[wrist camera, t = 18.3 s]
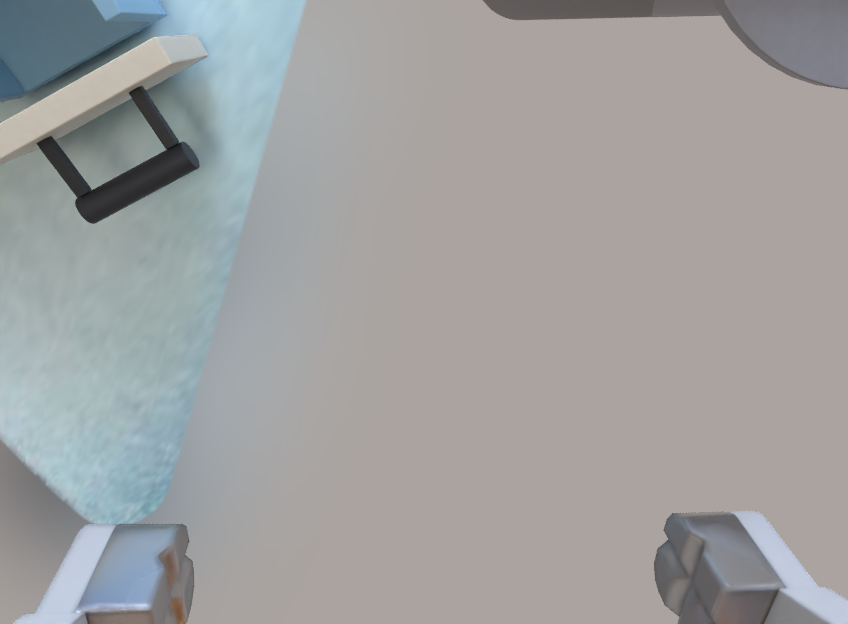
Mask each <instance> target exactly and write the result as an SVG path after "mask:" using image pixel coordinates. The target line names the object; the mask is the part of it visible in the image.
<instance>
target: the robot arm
mask: <svg viewBox="0 0 848 624" xmlns="http://www.w3.org/2000/svg"><path fill="white" fill-rule="evenodd" d="M664 532H665V534H666V535H667V537H668V540H667V541H666V542H665V543H664V544H663V545H662V546H660V547H659V548H658V550H657V554H656V558H655V561H654V570H655V581H656V584H657V588H658V591H659V594H660V596H661V598H662V600H663V602H664V604H665V606H666V607H668V608H669V609H670V610H671V611H673V612H674V613H675V614H677V615H678V616H679V620H678V624H848V600H847V599H845V598H844V597H842V596H840V595H839V594H837V593H836V592H834V591H833V590H831V589H829V588H828V587H818V586H817V584H816V583H815V582H814V580H813V579H812V578H811V577H810V575H809V574H808V573H807V571H806V570H805V569H804V567H803V566H802V565H801V563H800V562H799V561H798V560H797V558H796V557H795V556H794V554H793V553H792V552H791V550H790V549H789V548H788V547H787V545H786V544H785V543H784V541H783V540H782V539H781V537H780V536H779V535H778V534H777V532H776V531H775V529H774V528H773V527H772V526H771V524H770V523H769V522H768V520H767V519H766V518H765V517H764V516H763V515H762V514H761V513H759V512H757V511H733V512H700V513H672V514H671V515H670V517H669V518H668V519H667V521H666V524H665V527H664ZM188 543H189V538H188V532H187V527H186V526H185V525H183V524H119V525H118V524H87V525H85V526H84V527H83V528H82V529H81V530H80V531H79V532H78V533H77V535H76V537H75V539H74V541H73V543H72V545H71V546H70V548H69V550H68V552H67V554H66V556H65V558H64V560H63V561H62V563H61V565H60V567H59V569H58V571H57V573H56V574H55V576H54V578H53V580H52V582H51V584H50V586H49V587H48V589H47V591H46V593H45V595H44V597H43V599H42V601H41V602H40V604H39V606H38V608H37V610H36V612H35V614H24V615H22V616H21V617H20V618H18V619H17V620H16V621H14V622H13V623H12V624H186V623H187V620H188V617H189V613H190V609H191V605H192V598H193V591H194V569H193V562H192V560H191V559H189V558H188V557H187V556H186V555H185V553H186V550H187V547H188Z"/></svg>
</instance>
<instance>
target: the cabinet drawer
mask: <svg viewBox="0 0 848 624" xmlns="http://www.w3.org/2000/svg"><path fill="white" fill-rule="evenodd" d="M166 15H167V14H166V12H165V10H164V9H163V7H162V5H161V4H160V2H159V0H0V102H3V101H7V100H12V99H16V98H21V97H23V96H25V95H27V94H28V93H30V92H32V91H34V90H35V89H37V88H39V87H41V86H43V85H44V84H46V83H48V82H50V81H51V80H53V79H55V78H57V77H59V76H60V75H62V74H64V73H66V72H67V71H69V70H71V69H73V68H75V67H76V66H78V65H80V64H82V63H83V62H85V61H87V60H89V59H91V58H92V57H94V56H96V55H98V54H99V53H101V52H103V51H105V50H107V49H108V48H110V47H112V46H114V45H115V44H117V43H119V42H121V41H122V40H124V39H126V38H128V37H130V36H131V35H133V34H135V33H137V32H138V31H140V30H142V29H144V28H146V27H147V26H149V25H151V24H153V23H154V22H156V21H158V20H160V19H162V18H163V17H165V16H166ZM207 56H208V54H207V52H206V50H205V49H204V47H203V45H202V44H201V42H200V40H199V39H198V37H197V35H196V34H191V35H176V36H161V37H153V38H151V39H149V40H147V41H146V42H144V43H142V44H140V45H138V46H137V47H135V48H133V49H131V50H130V51H128V52H126V53H124V54H122V55H121V56H119V57H117V58H115V59H113V60H112V61H110V62H108V63H106V64H105V65H103V66H101V67H99V68H97V69H96V70H94V71H92V72H90V73H88V74H87V75H85V76H83V77H81V78H80V79H78V80H76V81H74V82H72V83H71V84H69V85H67V86H65V87H64V88H62V89H60V90H58V91H56V92H55V93H53V94H51V95H49V96H47V97H46V98H44V99H42V100H40V101H39V102H37V103H35V104H33V105H31V106H30V107H28V108H26V109H24V110H23V111H21V112H19V113H17V114H15V115H14V116H12V117H10V118H8V119H6V120H5V121H3V122H1V123H0V164H2V163H4V162H7V161H9V160H12V159H14V158H17V157H19V156H22V155H24V154H27V153H29V152H32V151H34V150H37V149H39V148H40V149H41V150H42V152H43V153H44V154H45V156H46V157H47V158H48V160H49V161H50V162H51V164H52V165H53V166H54V168H55V169H56V170H57V171H58V173H59V174H60V175H61V177H62V178H63V179H64V181H65V182H66V183H67V185H68V186H69V187H70V189H71V190H72V191H73V192H74V194H75V195H76V196H77V197H78V198H77V199H76V201H75V204H76V207H77V210H78V211H79V213H80V214H81V216H82V217H83V218H84V219H85V220H86V221H88V222H89V223H92V224H94V223H97V222H99V221H101V220H102V219H104V218H106V217H108V216H110V215H112V214H114V213H116V212H117V211H119V210H121V209H123V208H125V207H127V206H129V205H131V204H132V203H134V202H136V201H138V200H140V199H142V198H144V197H145V196H147V195H149V194H151V193H153V192H155V191H157V190H159V189H160V188H162V187H164V186H166V185H168V184H170V183H172V182H174V181H175V180H177V179H179V178H181V177H183V176H185V175H187V174H189V173H190V172H192V171H194V170H196V169H198V168H199V161H198V159H197V157H196V155H195V153H194V152H193V150H192V149H191V148H190V146H189V145H188V144H186V143H185V142H180V143H179V141H178V139H177V138H176V136H175V134H174V133H173V131H172V130H171V128H170V127H169V125H168V124H167V122H166V121H165V119H164V118H163V116H162V115H161V113H160V112H159V110H158V109H157V107H156V105H155V104H154V102H153V101H152V99H151V98H150V96H149V95H148V93H147V92H146V90H148V89H149V88H151V87H153V86H155V85H157V84H158V83H160V82H162V81H164V80H166V79H168V78H169V77H171V76H173V75H175V74H177V73H178V72H180V71H182V70H184V69H186V68H187V67H189V66H191V65H193V64H195V63H196V62H198V61H200V60H202V59H204V58H206V57H207ZM131 98H132V99H133V100H134V102H135V103H136V105H137V106H138V108H139V109H140V111H141V112H142V114H143V115H144V117H145V118H146V120H147V121H148V123H149V124H150V126H151V127H152V129H153V130H154V132H155V133H156V135H157V136H158V138H159V139H160V141H161V142H162V144H163V145H164V147H165V148H166V149H167V150H166V151H164V152H162V153H160V154H158V155H156V156H154V157H153V158H151V159H149V160H147V161H145V162H143V163H142V164H140V165H138V166H136V167H134V168H132V169H130V170H129V171H127V172H125V173H123V174H121V175H119V176H117V177H116V178H114V179H112V180H110V181H108V182H106V183H104V184H103V185H101V186H99V187H97V188H95V189H93V190H92V189H91V188H90V186H89V185H88V184H87V182H86V181H85V180H84V178H83V177H82V176H81V174H80V173H79V172H78V170H77V169H76V168H75V166H74V165H73V164H72V162H71V161H70V160H69V158H68V157H67V156H66V154H65V153H64V152H63V150H62V149H61V148H60V146H59V145H58V144H57V142H56V141H55V140H57V139H59V138H61V137H63V136H64V135H66V134H68V133H70V132H72V131H73V130H75V129H77V128H79V127H81V126H82V125H84V124H86V123H88V122H90V121H91V120H93V119H95V118H97V117H99V116H101V115H102V114H104V113H106V112H108V111H110V110H111V109H113V108H115V107H117V106H119V105H120V104H122V103H124V102H126V101H128V100H130V99H131ZM178 143H179V144H178ZM91 190H92V191H91Z"/></svg>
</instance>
